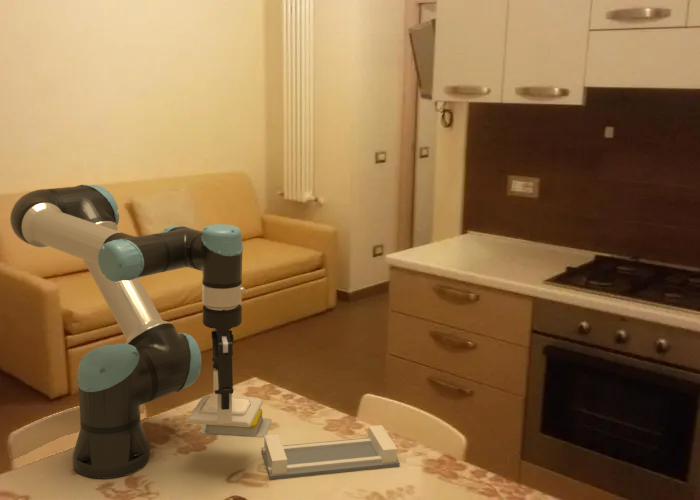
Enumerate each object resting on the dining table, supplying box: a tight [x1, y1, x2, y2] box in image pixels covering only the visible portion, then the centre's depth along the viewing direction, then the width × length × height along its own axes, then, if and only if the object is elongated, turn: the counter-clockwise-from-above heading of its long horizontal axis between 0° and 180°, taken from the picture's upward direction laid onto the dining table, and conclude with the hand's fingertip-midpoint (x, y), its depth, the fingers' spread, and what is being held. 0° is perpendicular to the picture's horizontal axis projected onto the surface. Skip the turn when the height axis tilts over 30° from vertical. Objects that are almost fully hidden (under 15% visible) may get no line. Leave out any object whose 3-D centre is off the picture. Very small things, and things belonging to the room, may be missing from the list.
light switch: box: [186, 392, 263, 427], centre depth 150 cm, size 11×4×13 cm
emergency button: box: [199, 408, 272, 438], centre depth 169 cm, size 9×4×15 cm
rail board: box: [261, 424, 400, 481], centre depth 156 cm, size 27×12×4 cm, turn 104°
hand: (222, 410), depth 149 cm, fingers closed on light switch, 10 cm apart
